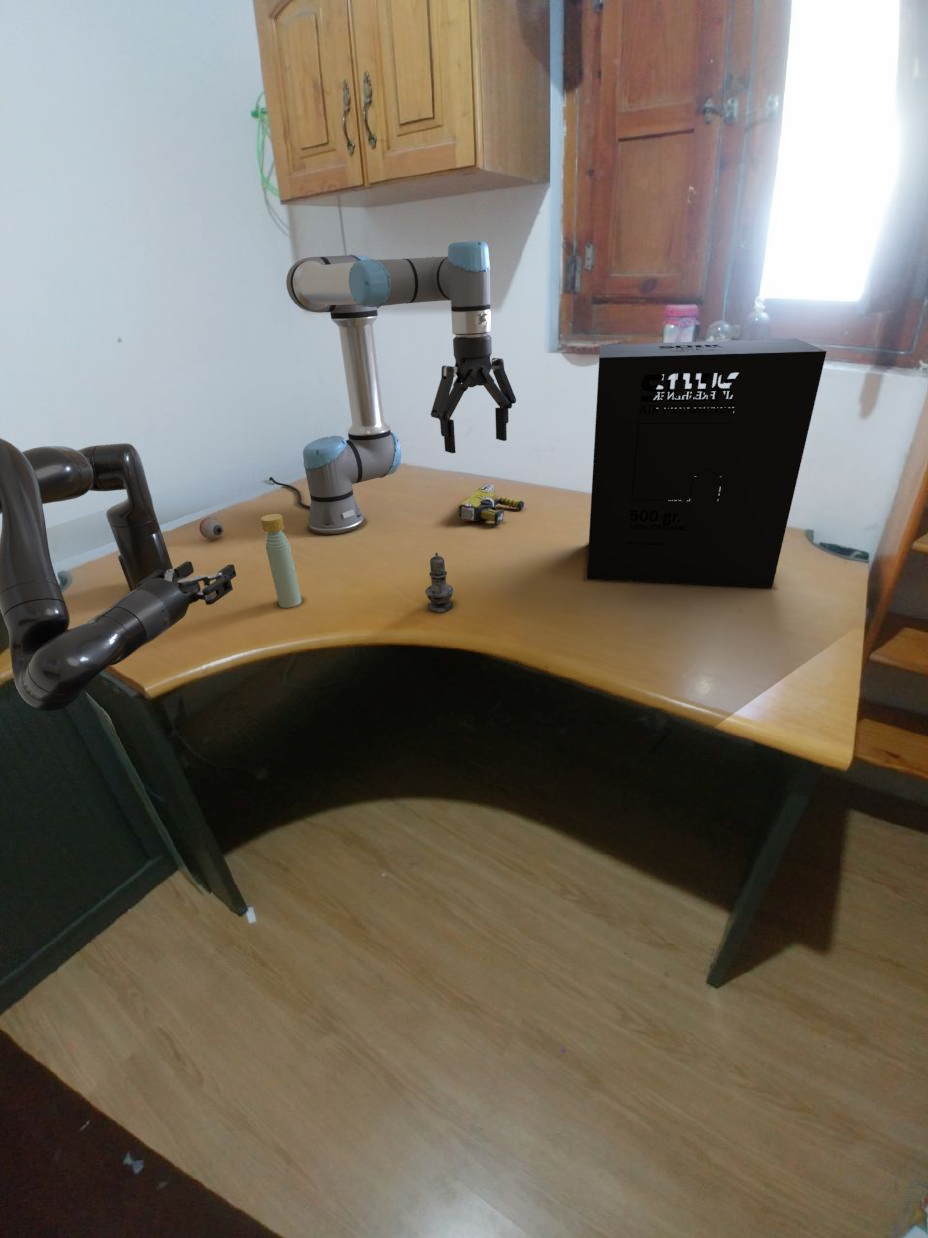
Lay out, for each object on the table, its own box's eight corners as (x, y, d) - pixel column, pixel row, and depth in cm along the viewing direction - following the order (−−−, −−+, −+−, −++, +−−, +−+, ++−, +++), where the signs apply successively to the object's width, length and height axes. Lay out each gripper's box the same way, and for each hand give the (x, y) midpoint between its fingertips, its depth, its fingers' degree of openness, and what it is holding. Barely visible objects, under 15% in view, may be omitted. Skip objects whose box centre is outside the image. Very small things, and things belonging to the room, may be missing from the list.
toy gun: (532, 488, 178) (484, 481, 182) (510, 513, 158) (457, 504, 162) (530, 504, 181) (483, 496, 185) (509, 529, 161) (456, 520, 165)
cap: (259, 530, 121) (256, 518, 120) (275, 523, 124) (272, 512, 123) (272, 533, 119) (269, 522, 118) (288, 527, 122) (286, 515, 121)
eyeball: (213, 544, 161) (207, 523, 158) (198, 540, 164) (191, 520, 161) (231, 536, 165) (225, 516, 162) (216, 533, 168) (210, 512, 165)
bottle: (274, 604, 130) (254, 520, 120) (291, 595, 133) (273, 513, 124) (289, 609, 127) (270, 524, 118) (306, 600, 131) (288, 517, 121)
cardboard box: (752, 548, 142) (795, 338, 119) (772, 587, 124) (826, 351, 102) (589, 543, 149) (600, 344, 127) (586, 579, 132) (599, 357, 110)
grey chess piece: (451, 613, 122) (447, 559, 116) (423, 611, 123) (418, 558, 117) (457, 599, 127) (454, 547, 121) (430, 598, 128) (425, 546, 122)
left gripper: (179, 594, 87) (242, 549, 101) (99, 587, 91) (170, 545, 104) (193, 638, 91) (252, 589, 104) (116, 629, 95) (183, 584, 108)
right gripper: (429, 342, 108) (437, 460, 118) (533, 329, 120) (532, 437, 131) (407, 340, 113) (417, 454, 124) (508, 328, 125) (510, 432, 136)
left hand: (211, 567), depth 104 cm, fingers open, 8 cm apart
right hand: (476, 445), depth 127 cm, fingers open, 13 cm apart
